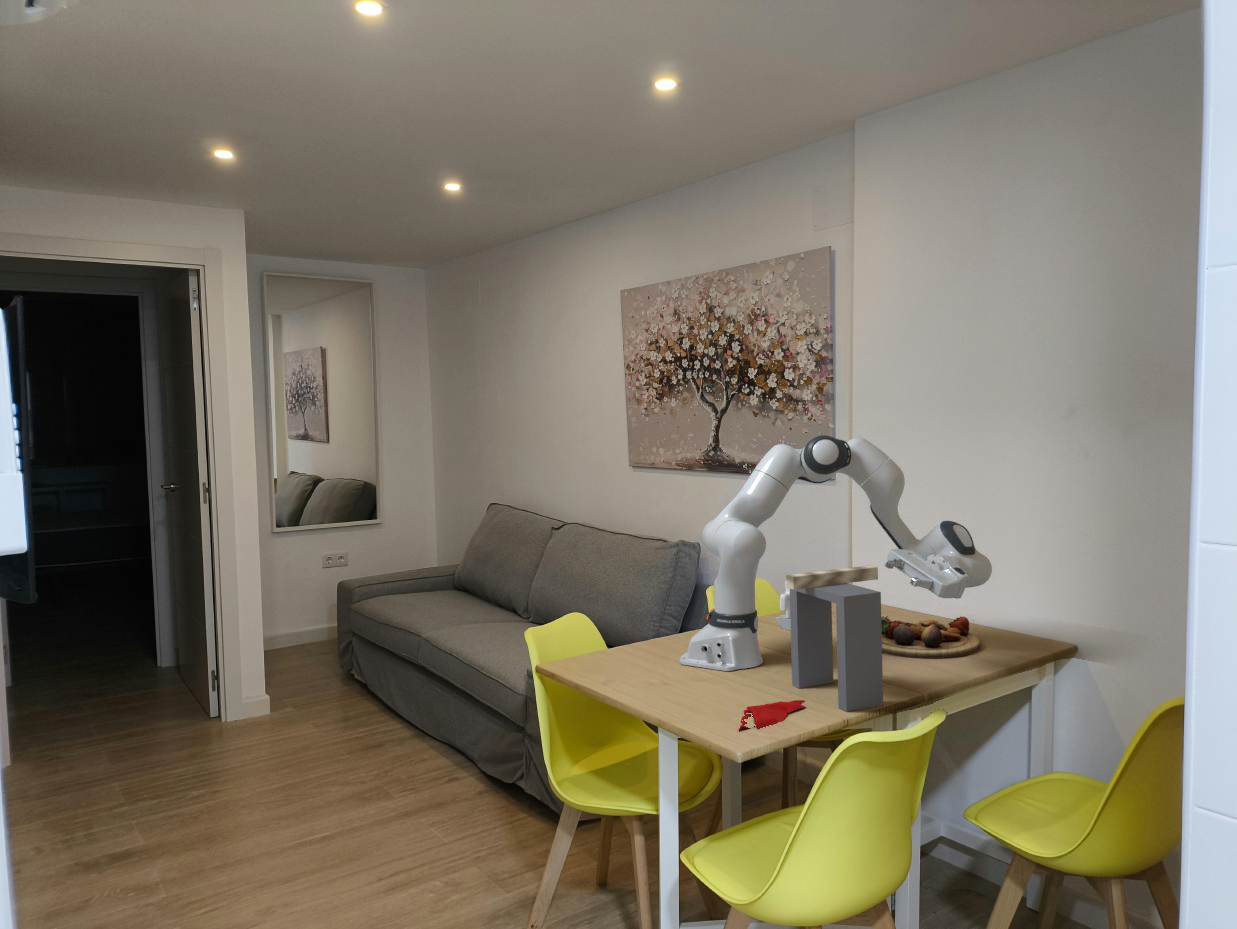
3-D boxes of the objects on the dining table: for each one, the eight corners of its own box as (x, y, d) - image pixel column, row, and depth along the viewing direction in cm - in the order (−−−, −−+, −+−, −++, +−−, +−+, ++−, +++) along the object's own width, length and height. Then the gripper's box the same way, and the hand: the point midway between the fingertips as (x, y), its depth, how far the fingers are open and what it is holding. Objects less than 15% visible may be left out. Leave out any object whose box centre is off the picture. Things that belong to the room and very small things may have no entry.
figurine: (772, 629, 268) (771, 582, 268) (789, 624, 275) (788, 577, 274) (792, 633, 263) (791, 584, 262) (809, 627, 270) (807, 580, 269)
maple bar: (793, 589, 200) (793, 576, 200) (786, 587, 203) (786, 575, 203) (877, 579, 209) (877, 567, 209) (870, 577, 212) (869, 565, 212)
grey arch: (846, 711, 192) (843, 596, 190) (792, 685, 212) (789, 581, 211) (883, 705, 195) (880, 592, 194) (826, 679, 216) (823, 577, 214)
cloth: (789, 697, 205) (789, 688, 205) (833, 712, 193) (833, 702, 193) (705, 722, 190) (704, 712, 190) (747, 740, 179) (746, 729, 179)
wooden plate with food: (961, 630, 260) (960, 603, 260) (997, 660, 229) (996, 629, 228) (853, 632, 264) (853, 605, 263) (874, 661, 232) (873, 630, 231)
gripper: (914, 542, 227) (875, 543, 220) (973, 579, 210) (932, 581, 203) (907, 564, 229) (868, 565, 222) (965, 602, 212) (924, 604, 205)
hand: (899, 573), depth 213 cm, fingers open, 8 cm apart
